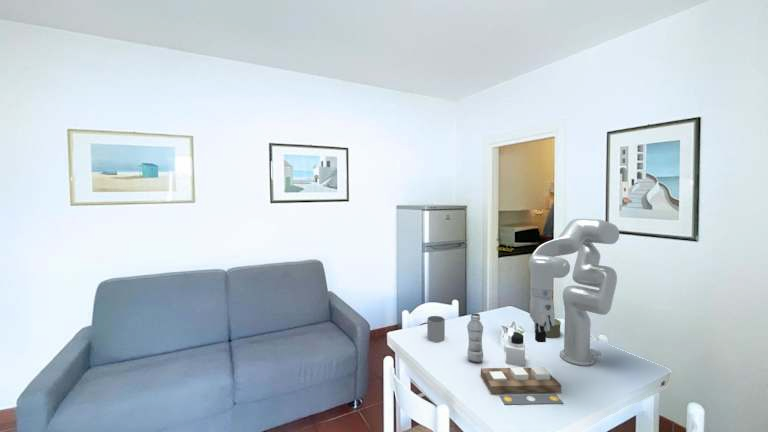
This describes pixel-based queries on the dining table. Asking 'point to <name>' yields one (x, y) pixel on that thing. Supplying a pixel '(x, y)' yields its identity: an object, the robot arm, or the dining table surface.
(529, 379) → the button board
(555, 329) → the can
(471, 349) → the plastic bottle
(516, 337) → the medicine bottle
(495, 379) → the button
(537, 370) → the button
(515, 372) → the button middle
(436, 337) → the cup
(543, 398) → the pattern card
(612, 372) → the dining table surface
